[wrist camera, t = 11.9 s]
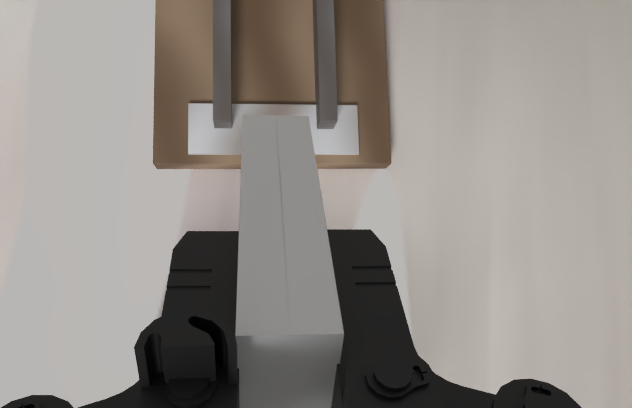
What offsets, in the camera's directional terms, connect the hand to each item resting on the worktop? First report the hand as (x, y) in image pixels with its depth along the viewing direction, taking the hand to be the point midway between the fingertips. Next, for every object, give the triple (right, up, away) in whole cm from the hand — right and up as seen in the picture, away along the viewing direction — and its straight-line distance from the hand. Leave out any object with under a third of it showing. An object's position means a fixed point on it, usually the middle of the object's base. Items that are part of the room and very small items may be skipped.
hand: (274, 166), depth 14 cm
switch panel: (-2, +14, +24) cm, 28 cm away
